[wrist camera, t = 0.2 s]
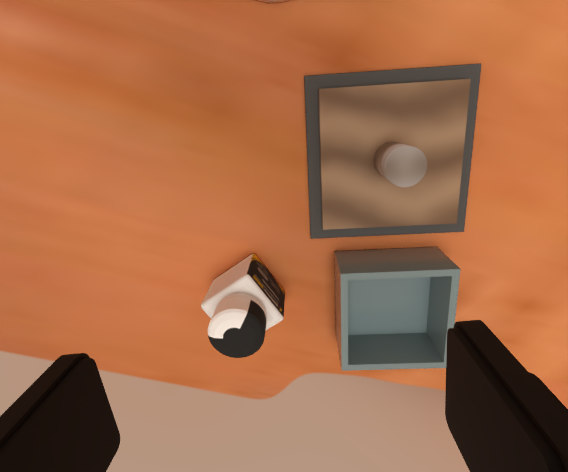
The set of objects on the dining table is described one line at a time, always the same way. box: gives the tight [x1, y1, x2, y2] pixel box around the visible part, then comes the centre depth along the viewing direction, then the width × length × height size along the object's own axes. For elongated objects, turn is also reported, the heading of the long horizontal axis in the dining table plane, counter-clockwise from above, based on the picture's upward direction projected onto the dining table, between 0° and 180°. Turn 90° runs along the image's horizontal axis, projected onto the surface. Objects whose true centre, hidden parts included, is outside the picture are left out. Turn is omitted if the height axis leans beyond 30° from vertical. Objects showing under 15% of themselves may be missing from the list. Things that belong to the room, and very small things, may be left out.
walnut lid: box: [318, 79, 471, 230], centre depth 39 cm, size 16×16×7 cm
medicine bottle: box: [201, 253, 285, 358], centre depth 43 cm, size 7×7×12 cm
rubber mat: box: [304, 64, 481, 239], centre depth 42 cm, size 19×19×1 cm
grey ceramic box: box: [334, 247, 460, 371], centre depth 45 cm, size 13×13×7 cm
